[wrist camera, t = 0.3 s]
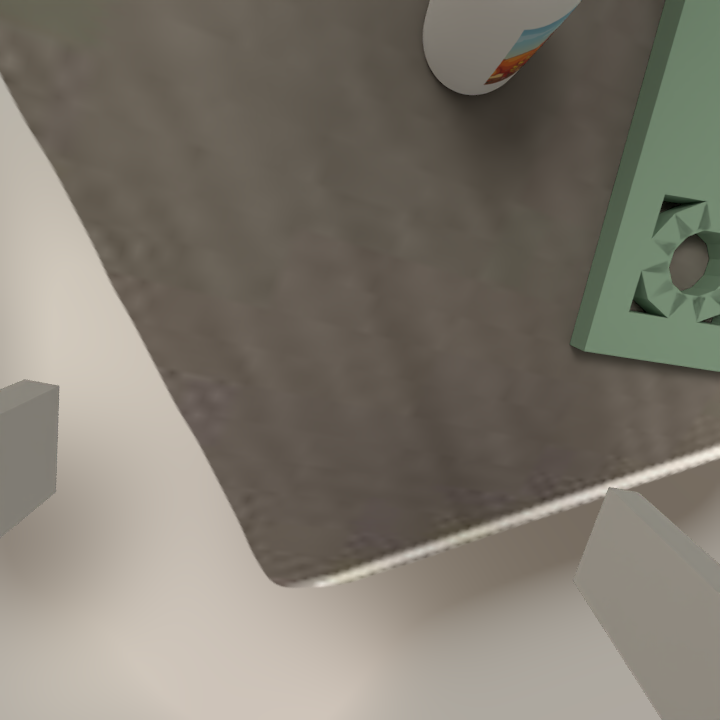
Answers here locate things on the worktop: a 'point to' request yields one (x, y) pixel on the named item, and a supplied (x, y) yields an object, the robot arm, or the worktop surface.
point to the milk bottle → (487, 39)
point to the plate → (644, 200)
